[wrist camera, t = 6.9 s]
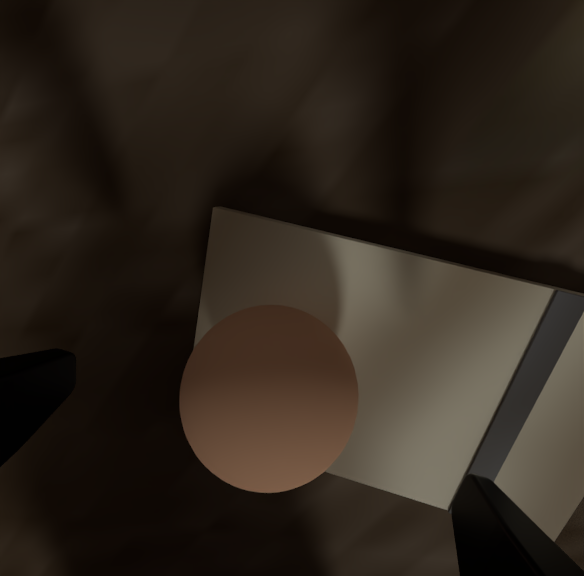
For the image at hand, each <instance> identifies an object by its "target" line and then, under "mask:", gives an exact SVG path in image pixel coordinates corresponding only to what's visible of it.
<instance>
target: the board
mask: <svg viewBox="0 0 584 576" xmlns="http://www.w3.org/2000/svg"><path fill="white" fill-rule="evenodd" d="M259 305H282V306H288V307H293V308H296V309H299V310H302V311H304V312H306V313H308V314H310V315H312V316H314V317H315V318H317V319H319V320H320V321H321V322H323V323H324V324H325V325H326V326H328V327H329V328H330V329H331V330H332V331H333V332H334V333H335V334H336V335H337V337H338V338H339V339H340V341H341V342H342V343H343V345H344V347H345V348H346V350H347V352H348V354H349V356H350V358H351V360H352V363H353V366H354V368H355V373H356V378H357V383H358V393H359V398H358V412H357V416H356V421H355V424H354V428H353V431H352V433H351V436H350V438H349V440H348V442H347V444H346V446H345V448H344V449H343V451H342V452H341V454H340V455H339V456H338V458H337V459H336V460H335V461H334V462H333V463H332V465H331V466H330V467H329V468H328V469H327V470H325V472H328V473H331V474H334V475H337V476H341V477H344V478H347V479H350V480H353V481H357V482H360V483H363V484H366V485H369V486H372V487H376V488H379V489H382V490H385V491H388V492H391V493H395V494H398V495H401V496H404V497H407V498H411V499H414V500H417V501H420V502H423V503H426V504H430V505H433V506H436V507H439V508H442V509H446V510H448V512H449V513H450V514H451V508H452V502H453V499H454V497H455V495H456V493H457V491H458V489H459V487H460V485H461V483H462V481H463V479H464V477H465V476H466V475H467V474H469V473H473V474H476V475H480V476H483V477H486V478H489V479H490V480H492V481H493V482H494V483H495V484H496V485H497V486H498V487H499V488H500V489H501V490H502V491H503V492H504V493H505V494H506V495H507V496H508V497H509V498H510V499H511V500H512V501H513V502H514V503H515V504H516V505H517V506H518V507H519V508H520V509H521V510H522V511H523V512H524V513H525V514H526V515H527V516H528V517H529V518H530V519H531V520H532V521H533V522H534V523H535V524H536V525H537V526H538V527H539V528H540V529H541V530H542V531H543V532H544V533H545V534H546V535H547V536H549V537H550V538H551V539H552V540H553V541H555V540H556V538H557V537H558V535H559V534H560V532H561V531H562V529H563V528H564V526H565V524H566V523H567V521H568V520H569V518H570V517H571V515H572V514H573V512H574V511H575V509H576V508H577V506H578V504H579V503H580V501H581V500H582V498H583V497H584V294H583V293H579V292H575V291H571V290H567V289H563V288H558V287H554V286H550V285H546V284H542V283H538V282H533V281H529V280H525V279H521V278H517V277H513V276H508V275H504V274H500V273H496V272H492V271H488V270H483V269H479V268H475V267H471V266H467V265H463V264H458V263H454V262H450V261H446V260H442V259H438V258H433V257H429V256H425V255H421V254H417V253H413V252H408V251H404V250H400V249H396V248H392V247H388V246H383V245H379V244H375V243H371V242H367V241H363V240H358V239H354V238H350V237H346V236H342V235H338V234H333V233H329V232H325V231H321V230H317V229H313V228H308V227H304V226H300V225H296V224H292V223H288V222H283V221H279V220H275V219H271V218H267V217H263V216H258V215H254V214H250V213H246V212H242V211H238V210H233V209H229V208H225V207H221V206H220V207H213V211H212V219H211V226H210V233H209V240H208V248H207V255H206V262H205V269H204V277H203V284H202V291H201V298H200V306H199V313H198V320H197V328H196V335H195V342H194V348H195V346H196V345H197V344H198V343H199V341H200V340H201V339H202V338H203V336H204V335H205V334H206V333H207V332H208V331H209V330H210V329H211V328H212V327H213V326H214V325H216V324H217V323H218V322H220V321H221V320H223V319H224V318H225V317H227V316H229V315H231V314H233V313H235V312H238V311H240V310H243V309H246V308H249V307H254V306H259ZM193 350H194V349H193Z"/></svg>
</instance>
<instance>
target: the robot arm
mask: <svg viewBox="0 0 584 576" xmlns="http://www.w3.org/2000/svg"><path fill="white" fill-rule="evenodd" d="M75 384H76V357H75V355H74V354H73V353H71V352H68V351H65V350H62V349H50V350H44V351H39V352H33V353H28V354H22V355H17V356H11V357H6V358H0V467H1V466H2V465H3V464H4V463H5V462H6V461H7V460H8V459H9V458H10V457H11V456H12V455H14V454H15V453H16V452H17V451H18V450H19V449H20V448H21V447H22V446H23V444H24V443H25V442H26V441H27V440H28V439H29V438H30V437H31V436H32V435H33V434H34V433H35V432H36V431H37V430H38V428H39V427H40V426H41V425H42V424H43V423H44V422H45V421H46V420H47V419H48V418H49V417H50V416H51V414H52V413H53V412H54V411H55V410H56V409H57V408H58V407H59V406H60V405H61V404H62V403H63V401H64V400H65V399H66V398H67V397H68V396H69V395H70V394H71V392H72V391H73V389H74V387H75ZM451 514H452V522H453V529H454V536H455V543H456V550H457V558H458V565H459V572H460V576H584V571H583V570H582V569H581V568H580V567H579V566H578V565H577V564H576V563H575V562H574V561H573V560H572V559H571V558H570V557H569V556H568V555H567V554H566V553H565V552H564V551H563V550H562V549H561V548H560V547H559V546H558V545H557V544H556V543H555V542H554V541H553V540H552V539H551V538H550V537H549V536H547V535H546V534H545V533H544V532H543V531H542V530H541V529H540V528H539V527H538V526H537V525H536V524H535V523H534V522H533V521H532V520H531V519H530V518H529V517H528V516H527V515H526V514H525V513H524V512H523V511H522V510H521V509H520V508H519V507H518V506H517V505H516V504H515V503H514V502H513V501H512V500H511V499H510V498H509V497H508V496H507V495H506V494H505V493H504V492H503V491H502V490H501V489H500V488H499V487H498V486H497V485H496V484H495V483H494V482H493V481H492V480H490V479H489V478H486V477H483V476H480V475H476V474H473V473H469V474H467V475H466V476H465V477H464V479H463V481H462V483H461V485H460V487H459V489H458V491H457V493H456V495H455V497H454V499H453V502H452V508H451Z"/></svg>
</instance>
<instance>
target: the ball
mask: <svg viewBox="0 0 584 576" xmlns="http://www.w3.org/2000/svg"><path fill="white" fill-rule="evenodd" d="M358 398H359V393H358V383H357V378H356V373H355V368H354V366H353V363H352V360H351V358H350V356H349V354H348V352H347V350H346V348H345V347H344V345H343V343H342V342H341V341H340V339H339V338H338V337H337V335H336V334H335V333H334V332H333V331H332V330H331V329H330V328H329V327H328V326H326V325H325V324H324V323H323V322H321V321H320V320H319V319H317V318H315V317H314V316H312V315H310V314H308V313H306V312H304V311H302V310H299V309H296V308H293V307H288V306H282V305H259V306H254V307H249V308H246V309H243V310H240V311H238V312H235V313H233V314H231V315H229V316H227V317H225V318H224V319H223V320H221V321H220V322H218V323H217V324H216V325H214V326H213V327H212V328H211V329H210V330H209V331H208V332H207V333H206V334H205V335H204V336H203V338H202V339H201V340H200V341H199V343H198V344H197V345H196V346H195V348H194V350H193V352H192V354H191V355H190V357H189V359H188V362H187V364H186V367H185V369H184V372H183V377H182V381H181V386H180V401H179V406H180V416H181V420H182V425H183V429H184V432H185V435H186V437H187V440H188V442H189V444H190V445H191V447H192V449H193V451H194V453H195V454H196V456H197V457H198V459H199V460H200V461H201V462H202V463H203V464H204V466H205V467H206V468H208V469H209V470H210V471H211V472H212V473H213V474H215V475H216V476H217V477H219V478H220V479H221V480H223V481H225V482H226V483H228V484H230V485H233V486H235V487H238V488H240V489H244V490H247V491H253V492H260V493H275V492H282V491H287V490H290V489H294V488H297V487H300V486H302V485H304V484H306V483H308V482H310V481H312V480H313V479H315V478H316V477H318V476H319V475H321V474H322V473H323V472H324V471H325V470H327V469H328V468H329V467H330V466H331V465H332V463H333V462H334V461H335V460H336V459H337V458H338V456H339V455H340V454H341V452H342V451H343V449H344V448H345V446H346V444H347V442H348V440H349V438H350V436H351V433H352V431H353V428H354V424H355V421H356V416H357V412H358Z"/></svg>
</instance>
